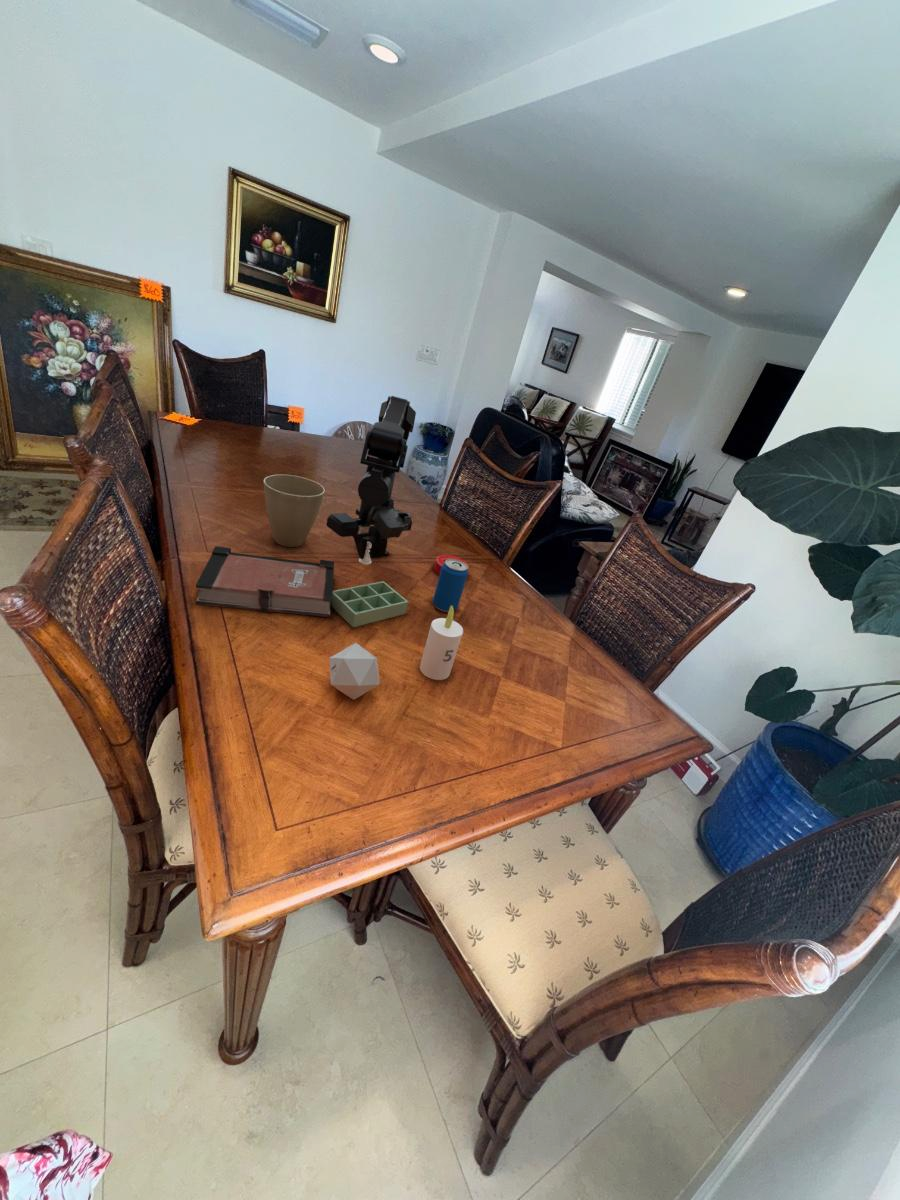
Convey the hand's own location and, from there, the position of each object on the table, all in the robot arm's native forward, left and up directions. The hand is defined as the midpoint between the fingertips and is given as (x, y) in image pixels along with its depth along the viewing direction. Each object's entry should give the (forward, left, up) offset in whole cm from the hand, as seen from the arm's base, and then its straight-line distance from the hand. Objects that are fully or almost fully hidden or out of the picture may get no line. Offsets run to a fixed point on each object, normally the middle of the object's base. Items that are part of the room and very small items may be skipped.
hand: (365, 557), depth 107 cm
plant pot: (-32, -1, -12) cm, 34 cm away
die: (+25, -18, -12) cm, 33 cm away
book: (-10, -16, -11) cm, 22 cm away
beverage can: (+10, +19, -12) cm, 25 cm away
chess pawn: (0, 0, -1) cm, 1 cm away
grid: (+4, 0, -11) cm, 12 cm away
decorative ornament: (-4, +34, -12) cm, 36 cm away
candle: (+28, 0, -12) cm, 30 cm away
